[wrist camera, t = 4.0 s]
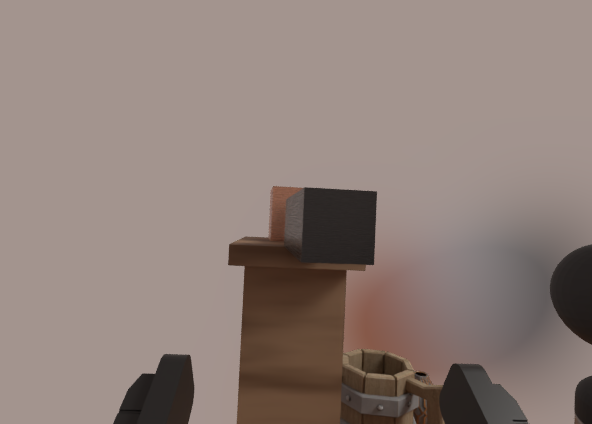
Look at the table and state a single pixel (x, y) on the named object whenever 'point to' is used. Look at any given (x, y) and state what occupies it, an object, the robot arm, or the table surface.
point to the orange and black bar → (324, 224)
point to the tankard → (383, 390)
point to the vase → (421, 400)
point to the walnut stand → (289, 335)
